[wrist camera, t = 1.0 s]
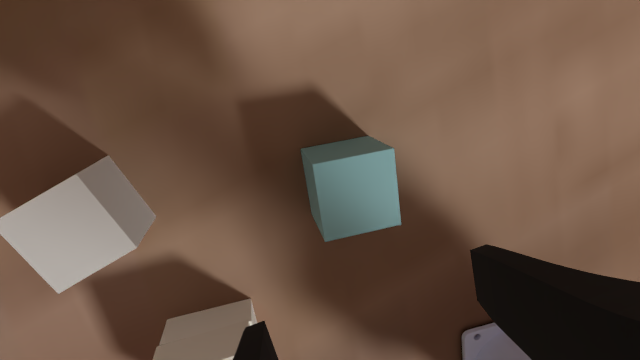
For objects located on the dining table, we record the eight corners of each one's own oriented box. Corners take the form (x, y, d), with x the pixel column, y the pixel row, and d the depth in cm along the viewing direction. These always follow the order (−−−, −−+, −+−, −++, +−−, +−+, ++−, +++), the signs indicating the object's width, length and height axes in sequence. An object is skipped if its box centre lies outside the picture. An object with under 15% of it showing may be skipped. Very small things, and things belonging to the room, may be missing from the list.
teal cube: (367, 135, 22) (394, 148, 18) (375, 199, 23) (401, 224, 19) (300, 148, 21) (312, 164, 17) (311, 213, 22) (325, 241, 18)
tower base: (250, 295, 23) (251, 320, 21) (267, 360, 25) (269, 390, 22) (168, 316, 22) (159, 344, 20) (189, 381, 24) (183, 415, 22)
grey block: (109, 154, 19) (76, 173, 16) (156, 215, 21) (136, 247, 17) (40, 194, 19) (-10, 223, 15) (92, 253, 20) (58, 293, 17)
